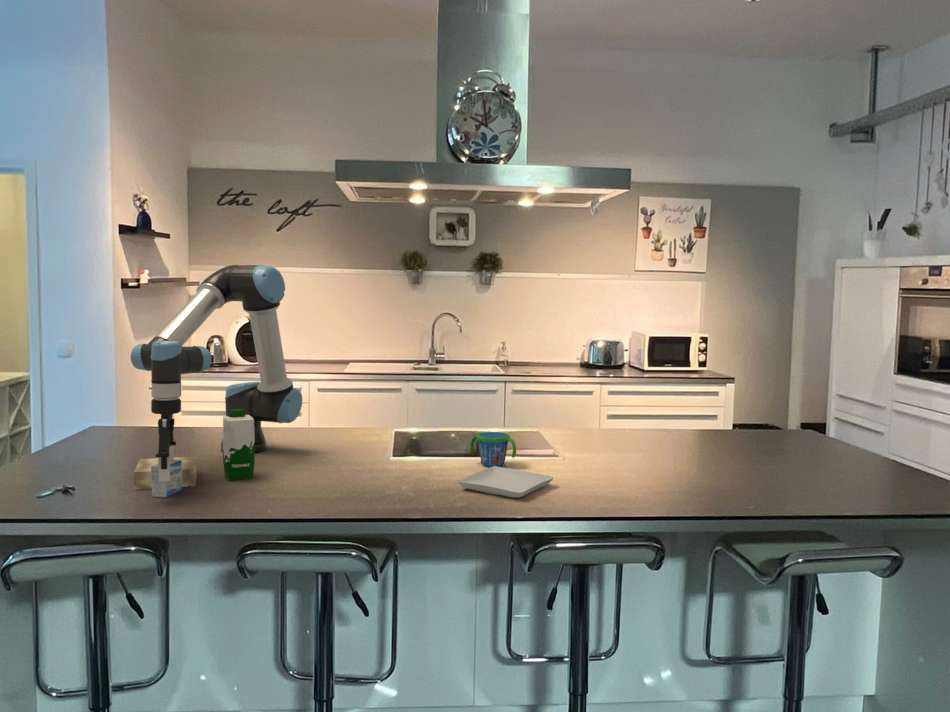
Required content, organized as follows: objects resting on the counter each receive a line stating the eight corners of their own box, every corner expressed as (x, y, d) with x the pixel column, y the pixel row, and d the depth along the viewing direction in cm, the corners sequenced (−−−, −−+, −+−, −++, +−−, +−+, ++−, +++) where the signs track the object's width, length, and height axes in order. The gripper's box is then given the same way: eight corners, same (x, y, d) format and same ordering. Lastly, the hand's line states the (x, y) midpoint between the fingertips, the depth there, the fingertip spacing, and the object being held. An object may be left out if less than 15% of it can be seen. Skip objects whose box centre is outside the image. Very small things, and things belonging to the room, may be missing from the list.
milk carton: (250, 472, 239) (250, 407, 237) (257, 479, 231) (256, 412, 229) (221, 474, 235) (220, 409, 233) (226, 482, 227) (225, 414, 225)
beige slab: (197, 472, 237) (197, 456, 236) (195, 486, 222) (195, 468, 221) (140, 475, 232) (140, 459, 231) (134, 489, 217) (133, 472, 216)
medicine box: (166, 498, 209) (165, 466, 209) (151, 496, 210) (150, 465, 209) (182, 490, 217) (182, 460, 216) (168, 489, 218) (167, 458, 217)
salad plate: (520, 503, 212) (521, 491, 212) (455, 491, 223) (455, 479, 223) (555, 487, 230) (555, 475, 230) (493, 476, 241) (493, 465, 241)
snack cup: (463, 465, 253) (464, 434, 252) (480, 459, 262) (480, 429, 261) (505, 472, 245) (506, 440, 244) (521, 465, 254) (522, 434, 253)
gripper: (155, 392, 222) (155, 465, 224) (146, 405, 198) (146, 486, 200) (183, 392, 224) (183, 464, 226) (178, 404, 200) (178, 485, 202)
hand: (166, 475), depth 213 cm, fingers open, 13 cm apart
